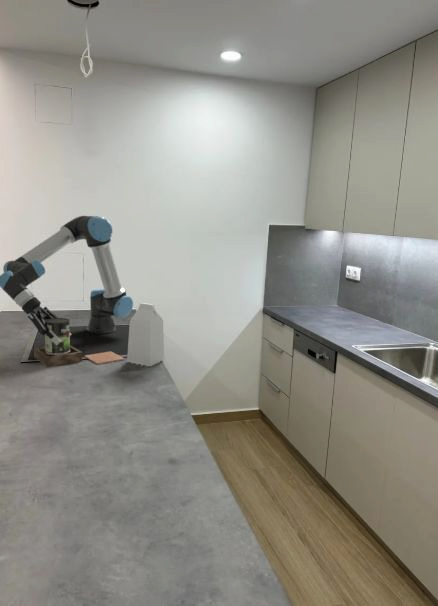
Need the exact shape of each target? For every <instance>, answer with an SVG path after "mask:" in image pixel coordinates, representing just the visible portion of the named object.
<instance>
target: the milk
mask: <svg viewBox="0 0 438 606" xmlns="http://www.w3.org/2000/svg"><path fill="white" fill-rule="evenodd" d="M164 336H165V335H164V319H163V318H162V317H161V316H160V314H159V313H158V312H157V311H156V308H155V304H153V303H146V302H140V303H139V306H138V308H137V310H136V311H135V313H134V314H133V315H132V317H131V319H130V321H129V328H128V339H127V340H128V341H127V342H128V344H127V356H126V357H127V358H126V363H128V362H131V363H130V364H133V363H136V364H135V365H138V364H141V365H140V366H143V365H146V366H145V367H148V366H151V365H153V364H155V363H157V362H159V363H161V362H160V361H161V360H162V362H163V361H165V344H164V343H165V342H164V340H165V337H164ZM157 364H158V363H157ZM155 365H156V364H155ZM153 366H154V365H153ZM151 367H152V366H151Z"/></svg>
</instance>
